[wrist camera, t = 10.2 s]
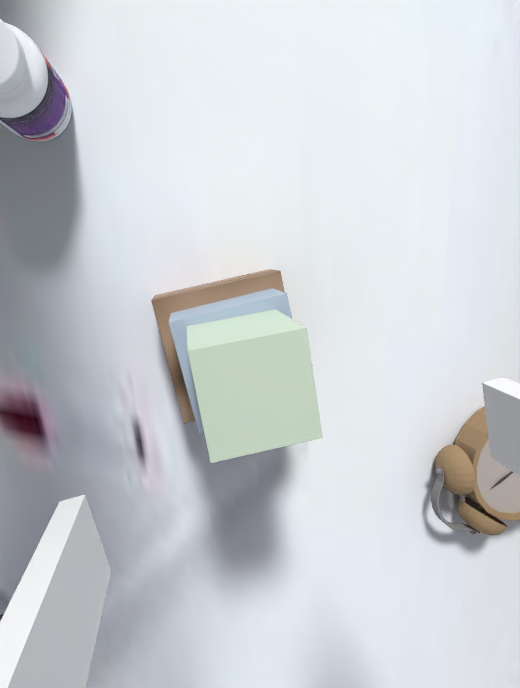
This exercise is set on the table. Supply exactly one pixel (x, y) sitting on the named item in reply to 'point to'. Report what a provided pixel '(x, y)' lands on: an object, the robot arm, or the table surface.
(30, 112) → the pill bottle
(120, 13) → the table surface
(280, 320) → the green block
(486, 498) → the alarm clock
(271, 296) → the tower top
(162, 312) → the tower base
